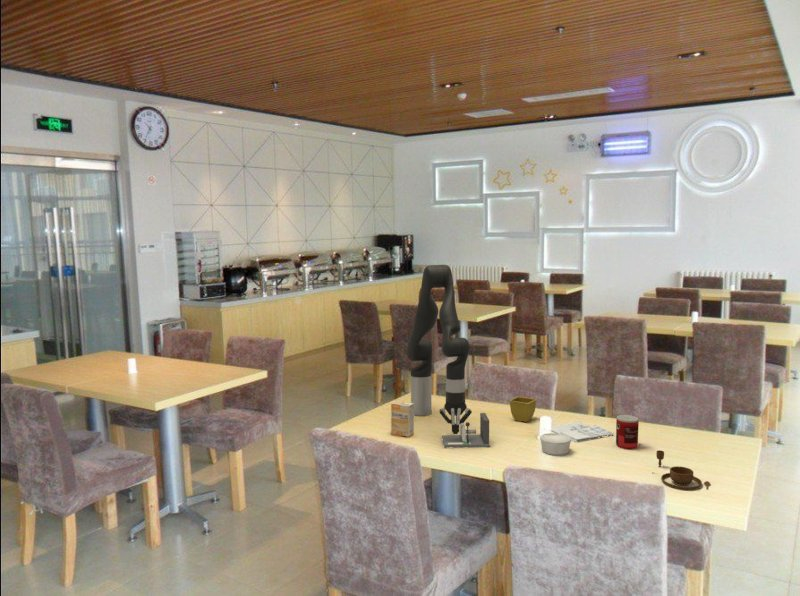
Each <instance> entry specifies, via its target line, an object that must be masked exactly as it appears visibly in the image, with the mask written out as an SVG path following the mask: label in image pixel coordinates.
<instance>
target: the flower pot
mask: <svg viewBox="0 0 800 596" xmlns="http://www.w3.org/2000/svg"><path fill="white" fill-rule="evenodd" d="M536 406H537V398H531V397H524V396H516V397H514V398H512V399H510V400H509V407H510V413H511V415H512V418H513V419H514V421H516V420H518V421H517V422H522V421H524V423H526V421H527V422H529V421H530V420H532V418H533V417H534V415H535V412H536ZM528 420H529V421H528Z"/></svg>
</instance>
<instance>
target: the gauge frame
mask: <svg viewBox="0 0 800 596" xmlns="http://www.w3.org/2000/svg"><path fill="white" fill-rule="evenodd" d="M479 418H480V419H479V421H480V422H479V423H480V424H479V430H480V432H479V434H468V440H469V443H467V442H463V441H462V438H461V435H460V434H442V435H441V439H443V440H442V444H443V443H444V444H443V446H444V447H468V448H490V446H491V445H490V419H489V418H488V415H487V414H486V412H480V415H479ZM466 440H467V434H466Z"/></svg>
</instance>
